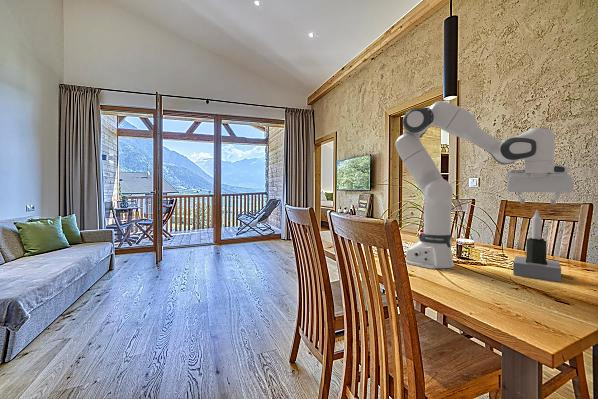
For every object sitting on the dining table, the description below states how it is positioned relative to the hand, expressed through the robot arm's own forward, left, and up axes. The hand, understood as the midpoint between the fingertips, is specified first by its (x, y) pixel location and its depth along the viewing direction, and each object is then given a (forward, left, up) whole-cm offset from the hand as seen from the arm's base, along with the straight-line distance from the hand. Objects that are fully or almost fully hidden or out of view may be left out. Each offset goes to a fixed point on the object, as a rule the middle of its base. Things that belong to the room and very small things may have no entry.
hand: (537, 203), depth 113 cm
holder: (0, 0, -28) cm, 28 cm away
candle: (0, 0, -28) cm, 28 cm away
